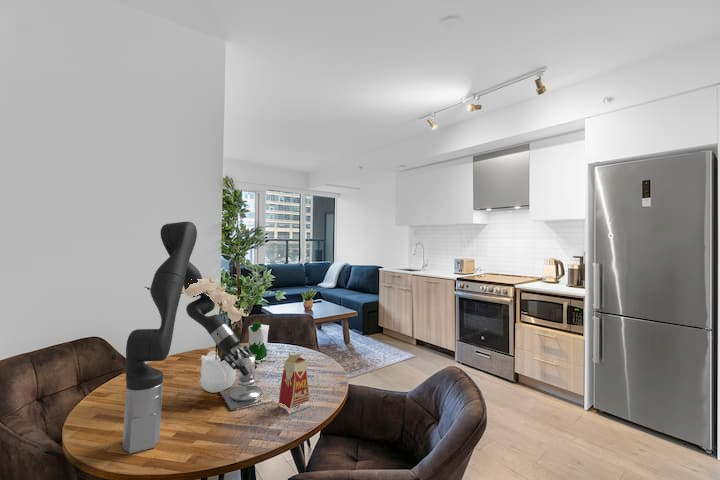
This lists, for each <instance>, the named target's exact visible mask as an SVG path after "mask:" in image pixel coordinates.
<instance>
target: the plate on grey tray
mask: <svg viewBox="0 0 720 480" xmlns="http://www.w3.org/2000/svg"><path fill="white" fill-rule="evenodd" d="M229 388H230V389H228V388H227V389H228V390H225V391H220V393H219V395H220V394H221V395H222V396H221V395H220V396H221V398H222V397H223V398H222V399H224V400H225V401H224V400H223V401H224V403H225V402H226V403H227V405H228V406H229V408H230V409H229V408H228V409H229V411H230V410H234V409H237V408H242V407H245V406H249V405H252V404H256V403H259V402H261V400H259V397H260V396H261V395H262V389H261V388H260V387H257V386H241V385H239V386H234V387H229ZM226 403H225V404H226ZM227 405H226V406H227ZM228 406H227V407H228Z"/></svg>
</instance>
